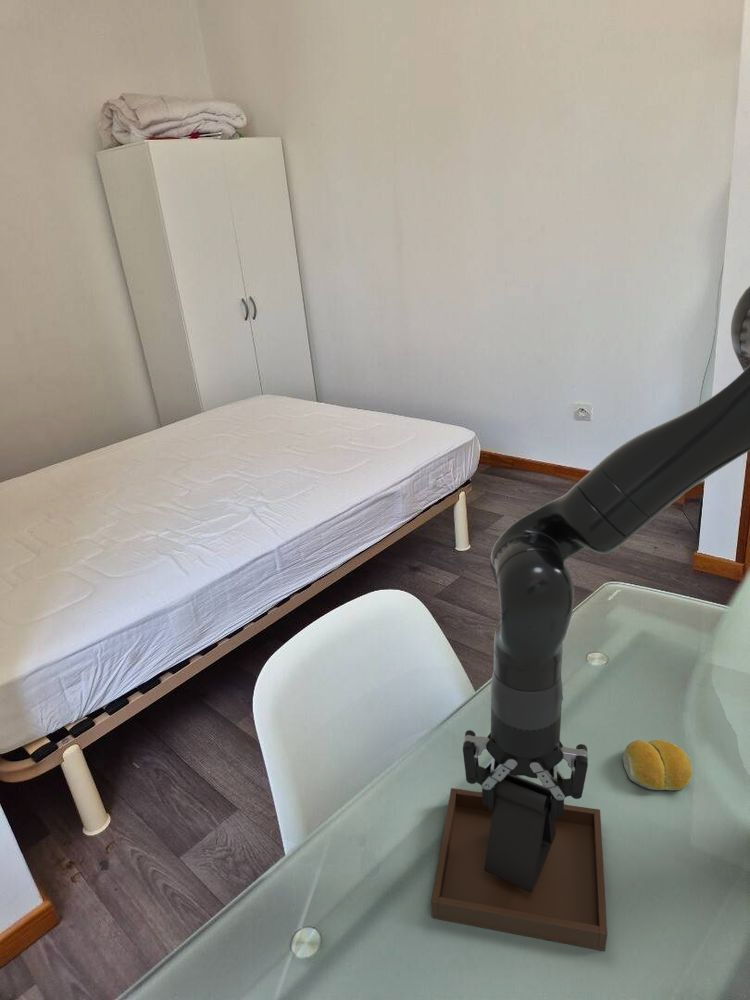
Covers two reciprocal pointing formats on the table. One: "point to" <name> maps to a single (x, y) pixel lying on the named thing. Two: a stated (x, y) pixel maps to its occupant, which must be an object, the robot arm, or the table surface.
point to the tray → (508, 908)
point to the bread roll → (657, 765)
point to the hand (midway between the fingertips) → (522, 809)
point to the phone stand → (519, 831)
